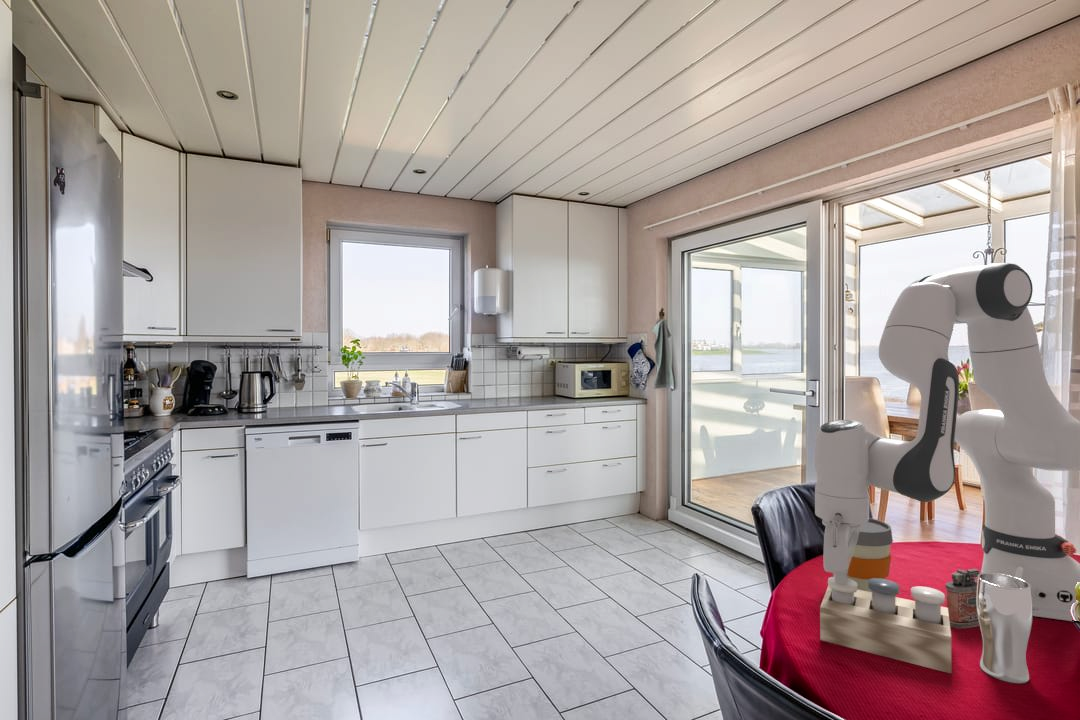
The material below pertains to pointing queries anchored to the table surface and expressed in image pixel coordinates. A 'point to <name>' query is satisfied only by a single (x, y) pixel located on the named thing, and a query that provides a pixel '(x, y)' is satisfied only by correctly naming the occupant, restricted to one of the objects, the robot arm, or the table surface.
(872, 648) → the wooden peg holder
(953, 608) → the lighter
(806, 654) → the table surface
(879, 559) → the reusable coffee cup
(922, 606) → the plunger near
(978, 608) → the beer glass
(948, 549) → the table surface
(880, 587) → the plunger middle
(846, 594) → the plunger far
